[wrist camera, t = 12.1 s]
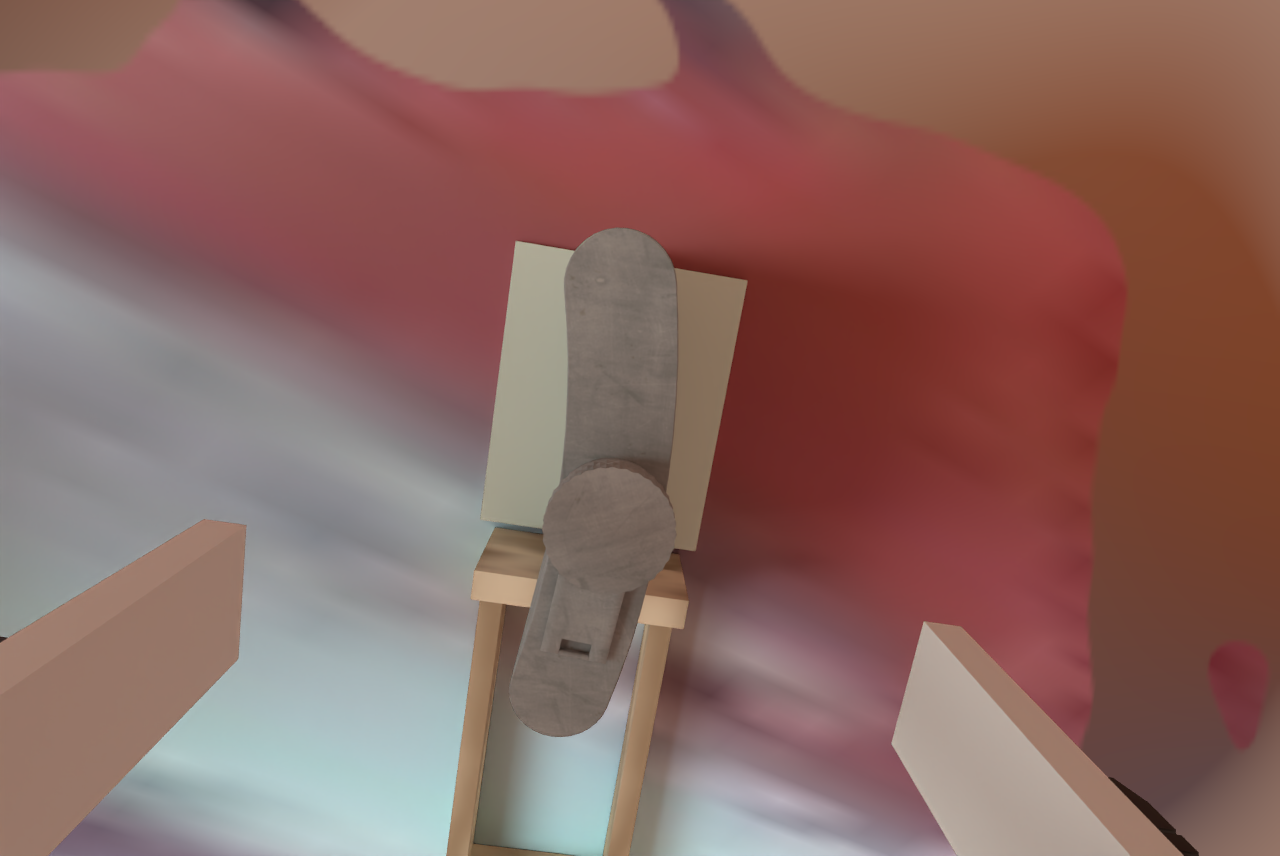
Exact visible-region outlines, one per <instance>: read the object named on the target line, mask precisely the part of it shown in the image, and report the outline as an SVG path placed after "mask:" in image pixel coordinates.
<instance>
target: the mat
mask: <svg viewBox="0 0 1280 856" xmlns="http://www.w3.org/2000/svg"><path fill="white" fill-rule="evenodd" d="M574 252H575V251H573V250H567V249H561V248H555V247H549V246H543V245H538V244H532V243H526V242H520V241H516V243H515V251H514V259H513V267H512V275H511V282H510V290H509V298H508V306H507V314H506V322H505V329H504V337H503V345H502V353H501V361H500V368H499V376H498V384H497V392H496V400H495V408H494V415H493V423H492V431H491V439H490V447H489V454H488V462H487V470H486V478H485V486H484V494H483V501H482V509H481V517H480V520H486V521H493V522H499V523H506V524H513V525H520V526H526V527H533V528H540V529H542V527H543V524H544V522H543V519H544V515H545V511H546V507H547V506H548V501H549V499H550V498H551V496H552V494H553V491H554V489H556V488H557V487H558V486H559V483H560V475H561V468H562V459H563V449H564V438H565V426H566V406H567V367H568V356H567V326H566V312H565V298H564V276H565V272H566V267H567V265H568V262H569V260H570V258H571V256H572V255H573V253H574ZM674 269H675V272H676V279H677V295H678V380H677V401H676V413H675V425H674V438H673V446H672V454H671V462H670V470H669V478H668V484H667V490H666V493H667V495H668V496H669V499H670V503H671V504H672V506H673V512H674V514H675V515H674V516H675V521H676V528H675V530H676V534H677V535H676V538H675V542H674V548H676V549H682V550H689V551H696V546H697V541H698V536H699V530H700V525H701V520H702V515H703V510H704V504H705V499H706V494H707V489H708V484H709V479H710V473H711V468H712V463H713V458H714V453H715V447H716V442H717V437H718V432H719V427H720V422H721V416H722V411H723V406H724V401H725V396H726V390H727V385H728V380H729V375H730V370H731V365H732V359H733V354H734V349H735V344H736V339H737V333H738V328H739V323H740V318H741V313H742V308H743V302H744V297H745V292H746V287H747V282H748V280H742V279H736V278H730V277H724V276H718V275H713V274H707V273H701V272H695V271H689V270H683V269H678V268H674Z"/></svg>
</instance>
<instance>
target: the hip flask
mask: <svg viewBox="0 0 1280 856" xmlns="http://www.w3.org/2000/svg"><path fill="white" fill-rule="evenodd" d="M564 298H565V312H566V326H567V356H568V367H567V406H566V426H565V438H564V449H563V459H562V468H561V475H560V483H559V486H558V487H557V488H556V489H554V491H553V494H552V496H551V498H550V499H549V501H548V506H547V507H546V511H545V515H544V519H543V522H544V524H543V527H542V532H543V535H544V536H543V543H544V545H545V547H546V549H545V553H544V556H543V560H542V564H541V568H540V571H539V575H538V579H537V583H536V587H535V590H534V594H533V598H532V602H531V605H530V609H529V613H528V617H527V620H526V624H525V628H524V632H523V635H522V639H521V643H520V647H519V651H518V654H517V658H516V662H515V666H514V669H513V673H512V677H511V681H510V685H509V696H510V702H511V705H512V707H513V710H514V712H515V713H516V715H517V716H518V718H519V719H520V720H521V721H522V722H523V723H524V724H525V725H526V726H528V727H529V728H531V729H532V730H534V731H536V732H538V733H541V734H544V735H548V736H554V737H565V736H572V735H575V734H579V733H581V732H583V731H585V730H587V729H589V728H590V727H592V726H593V725H594V724H595V723H597V721H598V720H599V719H600V718H601V717H602V715H603V714H604V712H605V710H606V708H607V706H608V703H609V701H610V699H611V696H612V694H613V691H614V689H615V686H616V684H617V681H618V679H619V676H620V673H621V671H622V668H623V665H624V662H625V660H626V657H627V654H628V651H629V648H630V646H631V642H632V639H633V636H634V633H635V629H636V626H637V623H638V619H639V616H640V613H641V609H642V605H643V601H644V598H645V594H646V590H647V587H648V583H649V581H650V580H652V579H654V578H655V577H656V575H657V573H659V572H660V571H662V570H663V568H664V566H665V564H666V563H667V562H668V561H669V559H670V555H671V552H672V551H673V549H674V542H675V538H676V535H677V534H676V530H675V528H676V521H675V516H674V515H675V514H674V512H673V506H672V504H671V503H670V499H669V496H668V495H667V493H666V490H667V484H668V478H669V470H670V462H671V454H672V446H673V438H674V425H675V413H676V401H677V380H678V295H677V279H676V272H675V269H674V266H673V263H672V261H671V259H670V257H669V255H668V254H667V252H666V251H665V249H664V248H663V247H662V246H661V245H660V244H659V243H658V242H657V241H656V240H654V239H653V238H652V237H650V236H649V235H647V234H645V233H642V232H640V231H638V230H634V229H629V228H612V229H606V230H603V231H600V232H598V233H595V234H593V235H592V236H590V237H589V238H587V239H586V240H585V241H584V242H582V243H581V244H580V245H579V246H578V247H577V249H576V250H575V252H574V253H573V255H572V256H571V258H570V260H569V262H568V265H567V267H566V272H565V276H564Z"/></svg>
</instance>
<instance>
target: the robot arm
mask: <svg viewBox="0 0 1280 856" xmlns="http://www.w3.org/2000/svg"><path fill="white" fill-rule="evenodd" d="M245 538H246V525H241V524H234V523H227V522H220V521H213V520H206V519H204V520H202V521H200V522H199V523H197V524H195V525H194V526H192V527H190V528H189V529H187V530H185V531H184V532H182V533H180V534H179V535H177V536H175V537H174V538H172V539H171V540H169V541H167V542H166V543H164V544H162V545H161V546H159V547H157V548H156V549H154V550H152V551H151V552H149V553H147V554H146V555H144V556H142V557H141V558H139V559H137V560H136V561H134V562H133V563H131V564H129V565H128V566H126V567H124V568H123V569H121V570H119V571H118V572H116V573H114V574H113V575H111V576H109V577H108V578H106V579H104V580H103V581H101V582H100V583H98V584H96V585H95V586H93V587H91V588H90V589H88V590H86V591H85V592H83V593H81V594H80V595H78V596H76V597H75V598H73V599H71V600H70V601H68V602H67V603H65V604H63V605H62V606H60V607H58V608H57V609H55V610H53V611H52V612H50V613H48V614H47V615H45V616H43V617H42V618H40V619H38V620H37V621H35V622H34V623H32V624H30V625H29V626H27V627H25V628H24V629H22V630H20V631H19V632H17V633H15V634H14V635H12V636H10V637H9V638H6V637H0V856H48V855H49V854H50V853H51V852H52V851H53V850H54V849H55V848H56V847H57V846H58V845H59V844H60V843H61V841H62V840H63V839H64V838H65V837H66V836H67V835H68V834H69V833H70V832H71V831H72V830H73V829H74V828H75V827H76V826H77V825H78V824H79V823H80V822H81V821H82V820H83V819H84V818H85V817H86V816H87V815H88V814H89V813H90V812H91V811H92V809H93V808H94V807H95V806H96V805H97V804H98V803H99V802H100V801H101V800H102V799H103V798H104V797H105V796H106V795H107V794H108V793H109V792H110V791H111V790H112V789H113V788H114V787H115V786H116V785H117V784H118V783H119V782H120V781H121V780H122V778H123V777H124V776H125V775H126V774H127V773H128V772H129V771H130V770H131V769H132V768H133V767H134V766H135V765H136V764H137V763H138V762H139V761H140V760H141V759H142V758H143V757H144V756H145V755H146V754H147V753H148V752H149V751H150V750H151V749H152V748H153V746H154V745H155V744H156V743H157V742H158V741H159V740H160V739H161V738H162V737H163V736H164V735H165V734H166V733H167V732H168V731H169V730H170V729H171V728H172V727H173V726H174V725H175V724H176V723H177V722H178V721H179V720H180V719H181V718H182V717H183V716H184V714H185V713H186V712H187V711H188V710H189V709H190V708H191V707H192V706H193V705H194V704H195V703H196V702H197V701H198V700H199V699H200V698H201V697H202V696H203V695H204V694H205V693H206V692H207V691H208V690H209V689H210V688H211V687H212V686H213V685H214V684H215V682H216V681H217V680H218V679H219V678H220V677H221V676H222V675H223V674H224V673H225V672H226V671H227V670H228V669H229V668H230V667H231V666H232V665H233V664H234V663H235V662H236V661H237V660H238V655H239V638H240V622H241V605H242V588H243V572H244V555H245ZM891 744H892V746H893V747H894V749H895V751H896V752H897V754H898V756H899V758H900V759H901V761H902V763H903V764H904V766H905V768H906V769H907V771H908V773H909V775H910V776H911V778H912V780H913V781H914V783H915V785H916V787H917V788H918V790H919V792H920V793H921V795H922V797H923V799H924V800H925V802H926V804H927V805H928V807H929V809H930V811H931V812H932V814H933V816H934V817H935V819H936V821H937V822H938V824H939V826H940V828H941V829H942V831H943V833H944V834H945V836H946V838H947V840H948V841H949V843H950V845H951V846H952V848H953V850H954V852H955V853H956V855H957V856H1199V855H1198V851H1197V850H1195V849H1194V848H1193V847H1192V846H1191V845H1190V844H1189V843H1188V842H1187V841H1186V840H1185V839H1184V838H1183V837H1182V836H1181V835H1177V834H1176V830H1175V829H1174V828H1173V827H1172V826H1171V825H1170V824H1169V823H1168V822H1167V821H1166V820H1165V819H1164V818H1163V817H1162V816H1161V815H1160V814H1159V813H1158V812H1157V811H1156V810H1155V809H1154V808H1153V807H1152V806H1151V805H1150V804H1149V803H1148V802H1147V801H1145V800H1144V799H1142V798H1141V797H1140V796H1138V795H1137V794H1135V793H1134V792H1132V791H1131V790H1130V789H1128V788H1127V787H1125V786H1124V785H1122V784H1121V783H1120V782H1118V781H1117V780H1115V779H1114V778H1110V777H1107V776H1106V775H1105V774H1104V773H1103V772H1102V771H1101V770H1100V769H1099V768H1098V767H1097V766H1096V765H1095V764H1094V763H1093V762H1092V761H1091V760H1090V759H1089V758H1088V757H1087V756H1086V755H1085V754H1084V753H1083V751H1081V749H1080V748H1079V747H1078V746H1077V745H1076V744H1075V743H1074V742H1073V741H1072V740H1071V739H1070V738H1069V737H1068V736H1067V735H1066V734H1065V733H1064V732H1063V731H1062V730H1061V729H1060V728H1059V727H1058V726H1057V725H1056V724H1055V723H1054V722H1053V721H1052V720H1051V719H1050V718H1049V717H1048V716H1047V714H1046V713H1045V712H1044V711H1043V710H1042V709H1041V708H1040V707H1039V706H1038V705H1037V704H1036V703H1035V702H1034V701H1033V700H1032V699H1031V698H1030V697H1029V696H1028V695H1027V694H1026V693H1025V692H1024V691H1023V690H1022V689H1021V688H1020V687H1019V686H1018V685H1017V684H1016V683H1015V682H1014V681H1013V680H1012V679H1011V677H1010V676H1009V675H1008V674H1007V673H1006V672H1005V671H1004V670H1003V669H1002V668H1001V667H1000V666H999V665H998V664H997V663H996V662H995V661H994V660H993V659H992V658H991V657H990V656H989V655H988V654H987V653H986V652H985V651H984V650H983V649H982V648H981V647H980V646H979V645H978V644H977V643H976V641H975V640H974V639H973V638H972V637H971V636H970V635H969V634H968V633H967V632H966V631H965V630H964V629H963V628H962V627H961V626H954V625H947V624H940V623H933V622H926V621H924V623H923V627H922V630H921V634H920V638H919V642H918V645H917V649H916V653H915V657H914V660H913V664H912V668H911V672H910V675H909V679H908V683H907V687H906V691H905V694H904V698H903V702H902V706H901V709H900V713H899V717H898V721H897V724H896V728H895V732H894V736H893V739H892V743H891Z"/></svg>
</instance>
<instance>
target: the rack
mask: <svg viewBox="0 0 1280 856" xmlns="http://www.w3.org/2000/svg"><path fill="white" fill-rule="evenodd" d="M543 536H544V535H543V534H538V533H531V532H524V531H517V530H510V529H504V528H497V527H495V529H494V531H493V533H492V535H491V537H490V539H489V541H488V543H487V545H486V547H485V549H484V551H483V553H482V555H481V558H480V560H479V562H478V564H477V566H476V568H475V570H474V577H473V584H472V592H471V599H472V600H479V601H480V603H479V610H478V618H477V625H476V633H475V641H474V648H473V656H472V664H471V671H470V679H469V687H468V694H467V702H466V709H465V717H464V725H463V732H462V740H461V748H460V755H459V763H458V771H457V778H456V786H455V794H454V801H453V809H452V816H451V824H450V832H449V839H448V847H447V855H446V856H572V855H564V854H555V853H547V852H539V851H530V850H522V849H514V848H505V847H497V846H489V845H481V844H473V841H474V833H475V826H476V819H477V812H478V805H479V797H480V790H481V783H482V776H483V769H484V761H485V754H486V747H487V740H488V733H489V726H490V718H491V711H492V704H493V697H494V690H495V682H496V675H497V668H498V661H499V654H500V646H501V639H502V632H503V625H504V618H505V610H506V604H507V605H514V606H521V607H529V608H530V605H531V602H532V598H533V594H534V590H535V587H536V583H537V579H538V575H539V571H540V568H541V564H542V560H543V556H544V553H545V549H546V547H545V545H544V543H543ZM688 603H689V599H688V595H687V590H686V585H685V580H684V576H683V571H682V566H681V561H680V557H679V554H674V553H671V555H670V559H669V561H668V562H667V563H666V564H665V566H664V568H663V570H662V571H660V572H659V573H657V575H656V577H655V578H654V579H652V580H650V581H649V583H648V587H647V590H646V594H645V598H644V601H643V605H642V609H641V613H640V616H639V619H638V623H642V624H645V626H644V631H643V637H642V642H641V648H640V653H639V659H638V664H637V670H636V675H635V681H634V686H633V692H632V697H631V703H630V708H629V714H628V719H627V725H626V730H625V736H624V741H623V747H622V752H621V758H620V763H619V769H618V774H617V780H616V785H615V791H614V796H613V802H612V807H611V813H610V818H609V824H608V829H607V835H606V840H605V846H604V851H603V856H629V852H630V847H631V841H632V836H633V831H634V826H635V820H636V815H637V810H638V805H639V799H640V794H641V789H642V784H643V778H644V773H645V768H646V763H647V757H648V752H649V747H650V742H651V736H652V731H653V726H654V721H655V715H656V710H657V705H658V700H659V694H660V689H661V684H662V679H663V673H664V668H665V663H666V658H667V652H668V647H669V642H670V637H671V631H672V628H678V629H684V624H685V619H686V613H687V608H688Z"/></svg>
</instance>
